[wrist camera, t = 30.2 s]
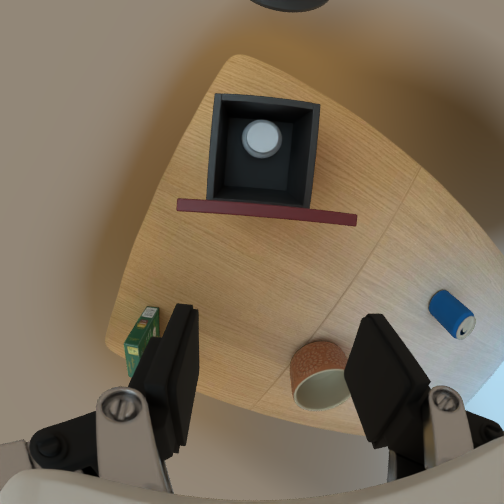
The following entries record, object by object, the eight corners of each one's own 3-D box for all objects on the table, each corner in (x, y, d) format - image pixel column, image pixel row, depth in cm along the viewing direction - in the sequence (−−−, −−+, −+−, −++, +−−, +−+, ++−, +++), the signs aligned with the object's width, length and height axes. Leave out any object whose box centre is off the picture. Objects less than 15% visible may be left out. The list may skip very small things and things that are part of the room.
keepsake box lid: (176, 198, 17) (176, 211, 17) (357, 214, 17) (356, 226, 17) (205, 201, 30) (205, 208, 30) (310, 210, 31) (309, 217, 31)
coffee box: (145, 303, 51) (122, 343, 39) (159, 306, 52) (138, 347, 39) (147, 336, 54) (127, 378, 42) (160, 338, 54) (142, 381, 42)
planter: (335, 324, 54) (351, 358, 43) (347, 363, 57) (361, 397, 47) (278, 346, 55) (283, 383, 45) (296, 382, 59) (303, 418, 49)
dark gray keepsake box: (225, 113, 40) (214, 93, 26) (297, 120, 41) (320, 104, 27) (218, 189, 45) (205, 204, 31) (289, 195, 45) (309, 213, 31)
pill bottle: (284, 138, 41) (294, 133, 32) (263, 165, 43) (267, 167, 33) (256, 118, 40) (258, 107, 31) (235, 144, 42) (232, 141, 32)
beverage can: (422, 310, 53) (450, 339, 42) (436, 285, 51) (467, 311, 40) (438, 315, 54) (465, 343, 43) (452, 292, 52) (481, 317, 41)
